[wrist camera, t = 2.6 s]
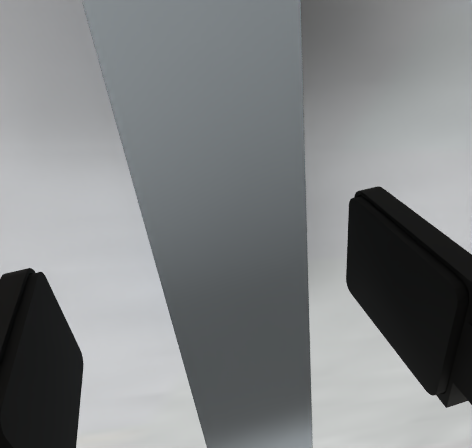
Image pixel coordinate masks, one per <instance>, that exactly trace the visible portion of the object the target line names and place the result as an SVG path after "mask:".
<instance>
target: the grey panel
mask: <svg viewBox="0 0 472 448" xmlns="http://www.w3.org/2000/svg"><path fill="white" fill-rule="evenodd" d="M82 3H83V6H84V10H85V13H86V17H87V21H88V24H89V28H90V31H91V35H92V38H93V42H94V46H95V49H96V53H97V56H98V60H99V63H100V67H101V71H102V74H103V78H104V81H105V85H106V88H107V92H108V96H109V99H110V103H111V106H112V110H113V113H114V117H115V120H116V124H117V128H118V131H119V135H120V138H121V142H122V145H123V149H124V153H125V156H126V160H127V163H128V167H129V170H130V174H131V178H132V181H133V185H134V188H135V192H136V195H137V199H138V203H139V206H140V210H141V213H142V217H143V220H144V224H145V228H146V231H147V235H148V238H149V242H150V245H151V249H152V253H153V256H154V260H155V263H156V267H157V270H158V274H159V278H160V281H161V285H162V288H163V292H164V295H165V299H166V303H167V306H168V310H169V313H170V317H171V320H172V324H173V328H174V331H175V335H176V338H177V342H178V345H179V349H180V353H181V356H182V360H183V363H184V367H185V370H186V374H187V378H188V381H189V385H190V388H191V392H192V395H193V399H194V403H195V406H196V410H197V413H198V417H199V420H200V424H201V428H202V431H203V435H204V438H205V442H206V445H207V448H313V445H312V407H311V370H310V333H309V296H308V259H307V221H306V184H305V147H304V110H303V73H302V35H301V0H82Z"/></svg>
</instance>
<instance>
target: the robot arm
mask: <svg viewBox="0 0 472 448" xmlns="http://www.w3.org/2000/svg"><path fill="white" fill-rule="evenodd" d="M346 282H347V286H348V289H349V291H350V292H351V294H352V295H353V297H354V298H355V299H356V300H357V302H358V303H359V304H360V306H361V307H362V308H363V310H364V311H365V312H366V313H367V315H368V316H369V317H370V319H371V320H372V321H373V323H374V324H375V325H376V326H377V328H378V329H379V330H380V332H381V333H382V334H383V336H384V337H385V338H386V339H387V341H388V342H389V343H390V345H391V346H392V347H393V349H394V350H395V351H396V352H397V354H398V355H399V356H400V358H401V359H402V360H403V362H404V363H405V364H406V365H407V367H408V368H409V369H410V371H411V372H412V373H413V375H414V376H415V377H416V378H417V380H418V381H419V382H420V384H421V385H422V386H423V388H424V389H425V390H426V391H427V392H428V393H429V394H430V395H437V397H438V398H439V399H440V400H441V402H442V403H443V404H444V405H445V407H446V408H447V407H450V406H453V405H456V404H459V403H462V402H465V401H469V402H470V403H471V404H472V255H471V254H470V253H469V252H467V251H466V250H465V249H463V248H462V247H461V246H459V245H458V244H457V243H455V242H454V241H453V240H451V239H450V238H449V237H447V236H446V235H445V234H443V233H442V232H441V231H439V230H438V229H437V228H435V227H434V226H433V225H431V224H430V223H429V222H427V221H426V220H425V219H423V218H422V217H421V216H419V215H418V214H417V213H415V212H414V211H413V210H411V209H410V208H409V207H407V206H406V205H404V204H403V203H402V202H400V201H399V200H398V199H396V198H395V197H394V196H392V195H391V194H390V193H388V192H387V191H386V190H384V189H383V188H381V187H374V188H370V189H365V190H361V191H358V192H356V194H355V197H354V198H352V199H351V200H350V202H349V221H348V247H347V273H346ZM82 375H83V357H82V353H81V351H80V348H79V346H78V344H77V342H76V340H75V338H74V336H73V334H72V331H71V329H70V327H69V325H68V323H67V321H66V319H65V317H64V315H63V312H62V310H61V308H60V306H59V304H58V302H57V300H56V298H55V296H54V293H53V291H52V289H51V287H50V285H49V283H48V281H47V279H46V277H45V275H44V274H43V273H42V272H38V273H35V271H34V270H33V269H31V268H28V269H23V270H19V271H15V272H11V273H6V274H4V275H2V277H1V279H0V448H76V441H77V430H78V419H79V408H80V397H81V386H82Z"/></svg>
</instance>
